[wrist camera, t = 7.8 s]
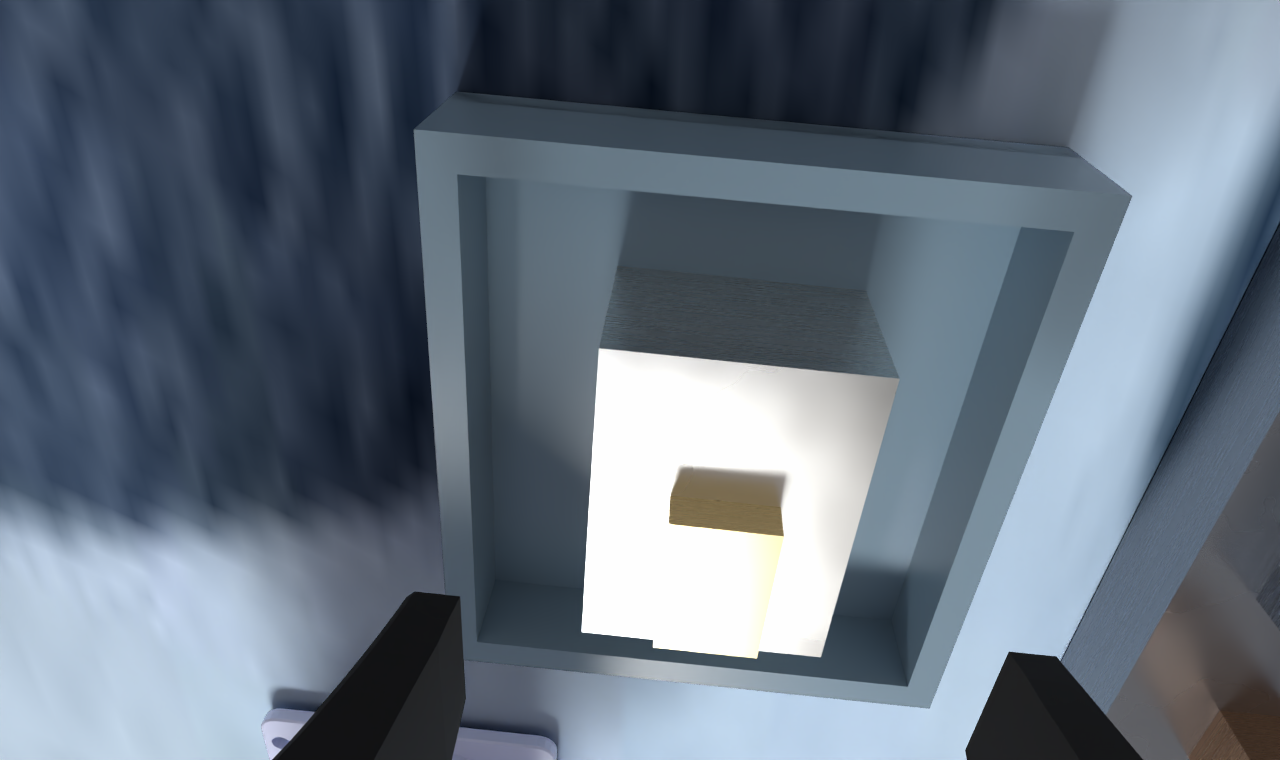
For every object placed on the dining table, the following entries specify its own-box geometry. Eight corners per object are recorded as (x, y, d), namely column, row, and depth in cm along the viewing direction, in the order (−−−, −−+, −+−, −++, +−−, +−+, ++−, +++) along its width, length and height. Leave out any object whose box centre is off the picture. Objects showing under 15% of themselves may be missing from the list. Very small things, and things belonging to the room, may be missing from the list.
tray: (906, 621, 20) (929, 708, 18) (476, 577, 20) (449, 658, 18) (1068, 147, 14) (1132, 195, 12) (456, 91, 14) (413, 129, 12)
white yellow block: (804, 544, 18) (825, 689, 15) (599, 523, 18) (576, 662, 15) (865, 290, 15) (910, 405, 12) (616, 265, 15) (593, 372, 12)
